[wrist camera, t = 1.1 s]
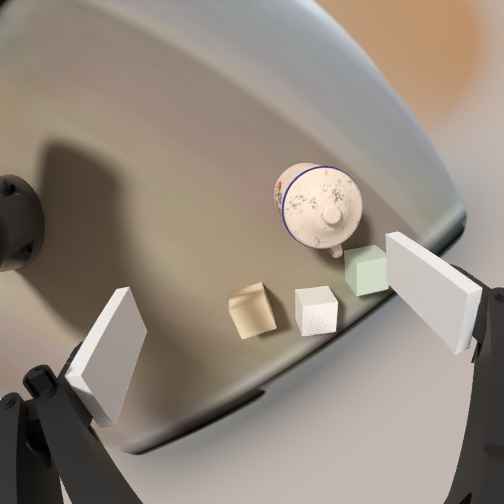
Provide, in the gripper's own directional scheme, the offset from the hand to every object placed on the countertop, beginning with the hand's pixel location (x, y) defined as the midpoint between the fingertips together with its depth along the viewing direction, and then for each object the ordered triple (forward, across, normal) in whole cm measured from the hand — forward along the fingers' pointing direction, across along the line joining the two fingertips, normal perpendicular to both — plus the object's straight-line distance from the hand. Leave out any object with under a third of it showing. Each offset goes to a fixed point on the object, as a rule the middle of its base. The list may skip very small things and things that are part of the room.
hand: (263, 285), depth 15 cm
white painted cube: (+26, +7, -18) cm, 33 cm away
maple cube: (+26, -2, -16) cm, 31 cm away
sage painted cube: (+26, +16, -13) cm, 33 cm away
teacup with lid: (+27, +9, -3) cm, 28 cm away
